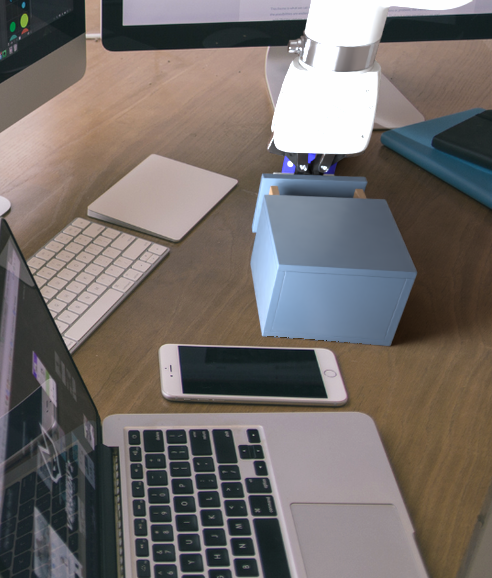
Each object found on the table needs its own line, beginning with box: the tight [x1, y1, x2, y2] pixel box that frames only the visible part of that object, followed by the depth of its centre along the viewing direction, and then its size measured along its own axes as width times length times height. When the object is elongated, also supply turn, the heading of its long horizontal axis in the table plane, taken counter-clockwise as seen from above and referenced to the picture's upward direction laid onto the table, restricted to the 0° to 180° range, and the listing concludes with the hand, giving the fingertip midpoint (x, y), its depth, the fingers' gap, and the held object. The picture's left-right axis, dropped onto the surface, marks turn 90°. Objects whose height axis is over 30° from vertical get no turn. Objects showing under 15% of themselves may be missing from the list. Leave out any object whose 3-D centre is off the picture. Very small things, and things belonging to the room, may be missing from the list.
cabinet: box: [249, 195, 418, 347], centre depth 84 cm, size 14×13×10 cm
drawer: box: [251, 171, 368, 234], centre depth 91 cm, size 17×11×8 cm, turn 168°
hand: (303, 195), depth 96 cm, fingers closed
